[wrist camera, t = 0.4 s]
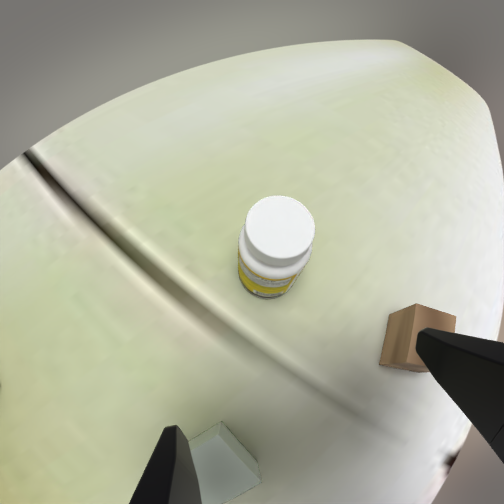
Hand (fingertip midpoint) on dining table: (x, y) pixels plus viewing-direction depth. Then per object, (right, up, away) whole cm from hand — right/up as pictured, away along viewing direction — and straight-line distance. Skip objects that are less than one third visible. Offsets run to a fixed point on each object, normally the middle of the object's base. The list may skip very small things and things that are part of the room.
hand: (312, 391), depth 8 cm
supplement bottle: (-1, +3, +15) cm, 16 cm away
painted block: (-5, -11, +9) cm, 15 cm away
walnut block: (+11, -4, +13) cm, 18 cm away
